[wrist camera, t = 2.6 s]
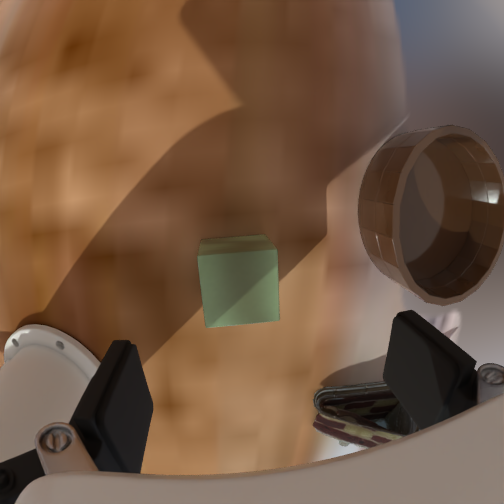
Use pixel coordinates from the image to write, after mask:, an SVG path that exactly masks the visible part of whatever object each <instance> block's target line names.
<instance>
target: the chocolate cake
mask: <svg viewBox="0 0 504 504" xmlns="http://www.w3.org/2000/svg"><path fill="white" fill-rule="evenodd" d="M313 403H314V407H315V408H316V409H317V410H318V411H319V414H318V415H317V416H316V419H315V422H314V423H313V426H314V427H315V429H316V431H317V432H320V433H321V434H324V435H326V436H328V437H330V438H334V439H337V440H339V444H340V445H341V446H348V445H349V444H353V445H355V446H358V447H363V448H366V449H368V448H372V447H375V446H378V445H381V444H384V443H387V442H390V441H393V440H396V439H399V438H402V437H405V436H407V435H410V434H413V433H415V432H418V431H420V429H419V428H418V426H417V425H416V423H415V422H414V421H413V419H412V418H411V417H410V415H409V414H408V413H407V411H406V410H405V408H404V407H403V406H402V404H401V403H400V402H399V400H398V399H397V398H396V396H395V395H394V394H393V392H392V391H391V390H390V388H389V387H388V386H387V384H386V383H385V382H379V383H370V384H359V385H355V386H349V387H348V386H343V387H324V388H323V389H320V390H318V391H316V393H315V394H314V399H313Z"/></svg>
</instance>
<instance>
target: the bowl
mask: <svg viewBox="0 0 504 504" xmlns="http://www.w3.org/2000/svg"><path fill="white" fill-rule="evenodd" d="M358 218H359V227H360V233H361V237H362V240H363V244H364V246H365V249H366V251H367V253H368V255H369V257H370V259H371V260H372V262H373V263H374V264H375V266H376V267H377V268H378V269H379V270H380V271H381V272H382V273H383V274H384V275H386V276H387V277H389V278H390V279H391V280H393V281H394V282H395V283H397V284H398V285H400V286H401V287H403V288H404V289H406V290H408V291H409V292H411V293H412V294H414V295H415V296H417V297H418V298H420V299H422V300H423V301H424V302H426V303H431V304H436V305H441V306H446V305H449V304H453V303H457V302H460V301H462V300H464V299H465V298H467V297H468V296H469V295H470V294H472V293H473V292H475V291H476V290H477V289H478V288H479V287H480V286H481V285H482V284H483V282H484V281H485V280H486V279H487V277H488V276H489V275H490V273H491V272H492V270H493V268H494V266H495V264H496V262H497V260H498V258H499V256H500V254H501V251H502V247H503V243H504V175H503V172H502V169H501V167H500V164H499V161H498V160H497V157H496V156H495V154H494V153H493V152H492V150H491V148H490V147H489V146H488V144H487V143H486V142H485V141H484V140H483V139H482V138H481V137H479V136H478V135H477V134H475V133H474V132H473V131H471V130H470V129H467V128H463V127H458V126H454V125H447V126H440V127H433V128H426V129H420V130H415V131H412V132H407V133H403V134H400V135H398V136H396V137H394V138H392V139H391V140H389V141H388V142H387V143H385V144H384V145H383V146H382V147H381V148H380V149H379V150H378V152H377V153H376V155H375V156H374V157H373V159H372V160H371V162H370V164H369V166H368V168H367V170H366V173H365V175H364V178H363V181H362V185H361V189H360V195H359V204H358Z"/></svg>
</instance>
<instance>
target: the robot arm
mask: <svg viewBox="0 0 504 504" xmlns="http://www.w3.org/2000/svg"><path fill="white" fill-rule="evenodd" d="M4 362H5V364H4V365H3V366H2V367H1V368H0V504H504V367H503V366H500V365H498V364H494V363H487V364H483V365H482V366H480V367H479V368H478V370H477V371H476V370H475V369H474V368H475V365H476V361H475V360H474V359H473V358H472V357H471V356H469V355H468V354H467V353H466V352H465V351H463V350H462V349H461V348H460V347H459V346H457V345H456V344H455V343H454V342H452V341H451V340H450V339H449V338H448V337H446V336H445V335H444V334H443V333H441V332H440V331H439V330H438V329H436V328H435V327H434V326H432V325H431V324H430V323H429V322H427V321H426V320H425V319H424V318H422V317H421V316H420V315H418V314H417V313H416V312H415V311H413V310H408V311H403V312H399V313H398V314H397V315H396V317H394V319H393V323H392V330H391V336H390V341H389V347H388V352H387V357H386V362H385V367H384V372H383V379H384V381H385V383H386V384H387V386H388V387H389V388H390V390H391V391H392V392H393V394H394V395H395V396H396V398H397V399H398V400H399V402H400V403H401V404H402V406H403V407H404V408H405V410H406V411H407V413H408V414H409V415H410V417H411V418H412V419H413V421H414V422H415V423H416V425H417V426H418V428H419V429H420V431H418V432H415V433H413V434H410V435H407V436H405V437H402V438H399V439H396V440H393V441H390V442H387V443H384V444H381V445H378V446H375V447H372V448H368V449H365V450H362V451H358V452H355V453H351V454H347V455H343V456H339V457H335V458H331V459H326V460H322V461H317V462H312V463H307V464H302V465H296V466H290V467H284V468H277V469H270V470H262V471H254V472H244V473H231V474H213V475H155V474H140V472H141V466H142V461H143V456H144V451H145V446H146V441H147V436H148V432H149V427H150V422H151V418H152V413H153V401H152V398H151V395H150V392H149V389H148V385H147V382H146V379H145V375H144V372H143V368H142V365H141V361H140V358H139V354H138V350H137V347H136V345H135V344H131V342H130V341H129V340H114V341H113V342H112V344H111V346H110V347H109V349H108V351H107V353H106V354H105V356H104V358H103V360H102V362H101V363H100V362H99V361H98V360H97V359H96V357H95V356H94V355H93V354H92V353H91V352H90V351H89V350H88V349H86V348H85V347H84V346H83V345H82V344H81V343H79V342H78V341H76V340H75V339H74V338H72V337H71V336H69V335H67V334H65V333H63V332H61V331H60V330H58V329H55V328H52V327H49V326H46V325H38V324H32V325H25V326H23V327H21V328H19V329H18V330H16V331H15V332H14V333H13V334H12V335H11V336H10V337H9V339H8V340H7V342H6V345H5V349H4Z"/></svg>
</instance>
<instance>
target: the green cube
mask: <svg viewBox="0 0 504 504" xmlns="http://www.w3.org/2000/svg"><path fill="white" fill-rule="evenodd" d="M197 260H198V270H199V278H200V287H201V295H202V303H203V311H204V319H205V326H206V328H209V327H221V326H233V325H243V324H253V323H263V322H272V321H279V320H280V314H279V278H278V250H277V248H276V247H275V246H274V245H273V243H272V242H271V241H270V240H269V239H268V238H267V236H266V235H265V234H263V235H250V236H238V237H225V238H213V239H202V240H201V242H200V246H199V251H198V255H197Z"/></svg>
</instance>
